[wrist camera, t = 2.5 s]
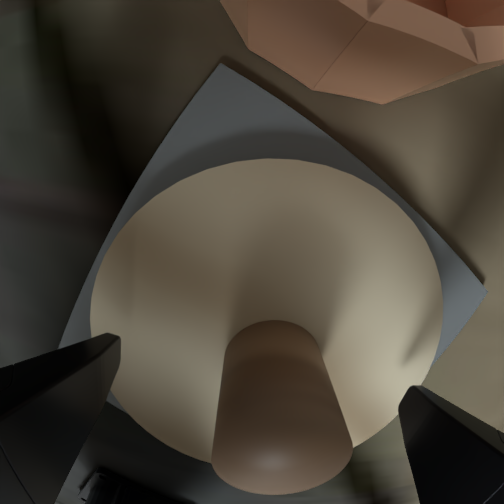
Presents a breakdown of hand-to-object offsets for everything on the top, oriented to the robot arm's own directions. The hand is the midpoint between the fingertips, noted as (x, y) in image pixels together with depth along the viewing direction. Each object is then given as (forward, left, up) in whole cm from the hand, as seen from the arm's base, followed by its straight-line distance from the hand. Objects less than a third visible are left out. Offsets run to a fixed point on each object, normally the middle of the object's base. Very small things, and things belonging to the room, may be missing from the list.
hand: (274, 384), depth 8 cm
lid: (0, 0, -2) cm, 2 cm away
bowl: (+12, +5, -2) cm, 13 cm away
